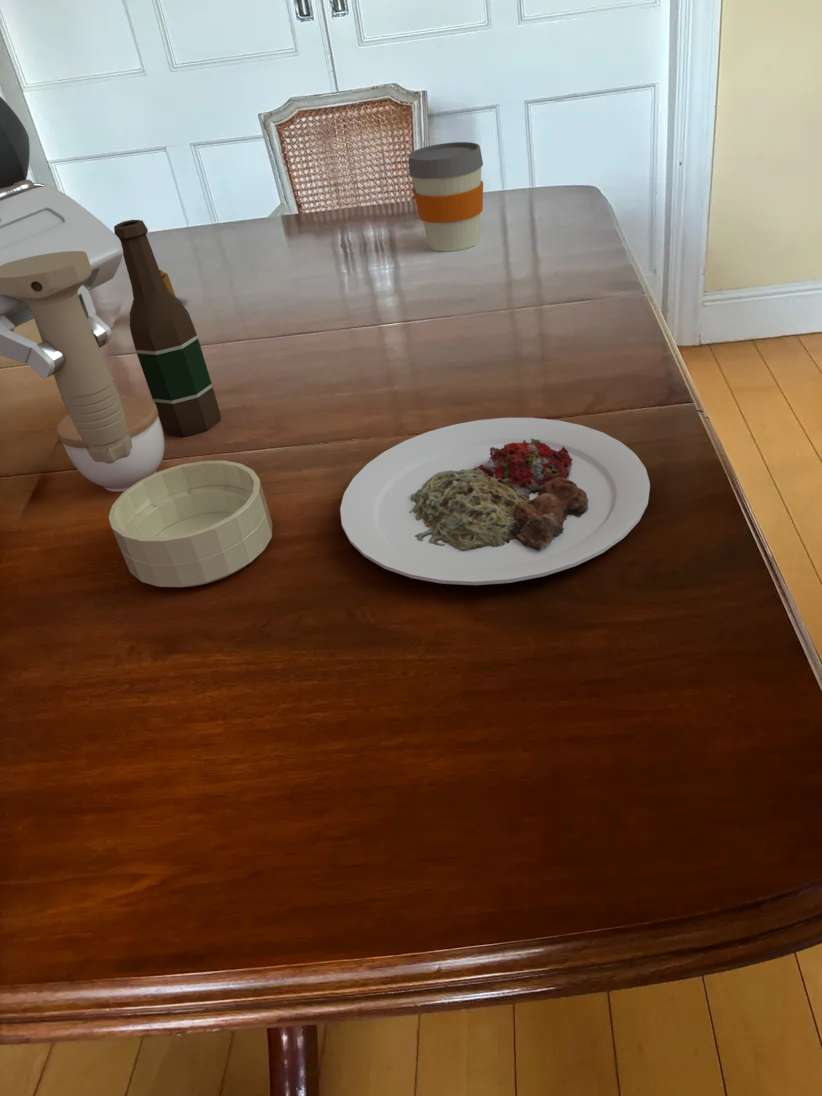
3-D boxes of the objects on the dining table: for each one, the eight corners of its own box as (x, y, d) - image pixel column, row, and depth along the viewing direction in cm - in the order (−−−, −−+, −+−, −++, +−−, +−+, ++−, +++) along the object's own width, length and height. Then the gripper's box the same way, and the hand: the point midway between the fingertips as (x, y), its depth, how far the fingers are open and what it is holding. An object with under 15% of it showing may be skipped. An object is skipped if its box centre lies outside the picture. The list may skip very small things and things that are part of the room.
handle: (78, 448, 73) (1, 261, 64) (157, 434, 73) (91, 246, 64) (67, 477, 69) (-17, 282, 60) (150, 463, 69) (79, 267, 60)
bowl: (119, 605, 82) (96, 552, 79) (141, 524, 94) (122, 474, 90) (272, 579, 83) (256, 525, 79) (276, 501, 94) (262, 450, 90)
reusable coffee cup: (414, 240, 163) (401, 150, 154) (481, 228, 164) (473, 137, 155) (425, 259, 153) (412, 164, 144) (496, 246, 154) (488, 151, 145)
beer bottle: (171, 411, 115) (106, 217, 101) (229, 406, 114) (172, 209, 100) (153, 440, 109) (81, 237, 95) (214, 435, 108) (151, 229, 94)
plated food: (309, 600, 79) (301, 569, 77) (376, 438, 103) (371, 411, 101) (656, 597, 74) (657, 564, 72) (644, 427, 97) (644, 398, 95)
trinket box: (96, 514, 96) (63, 436, 91) (71, 477, 104) (39, 403, 98) (190, 478, 100) (164, 401, 95) (159, 445, 108) (133, 372, 102)
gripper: (31, 204, 73) (159, 328, 75) (-203, 294, 59) (-38, 444, 61) (48, 143, 68) (185, 277, 70) (-200, 226, 55) (-22, 389, 57)
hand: (80, 355), depth 66 cm, fingers closed on handle, 3 cm apart
